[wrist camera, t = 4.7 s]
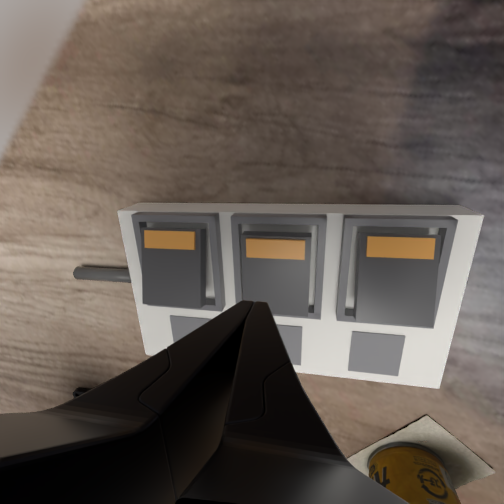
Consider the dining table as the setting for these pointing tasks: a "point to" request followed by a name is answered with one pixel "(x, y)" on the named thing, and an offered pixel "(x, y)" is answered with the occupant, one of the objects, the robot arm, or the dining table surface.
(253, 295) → the rocker middle
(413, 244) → the rocker
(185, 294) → the rocker
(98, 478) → the robot arm
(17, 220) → the dining table surface
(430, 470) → the condiment
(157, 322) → the power strip
